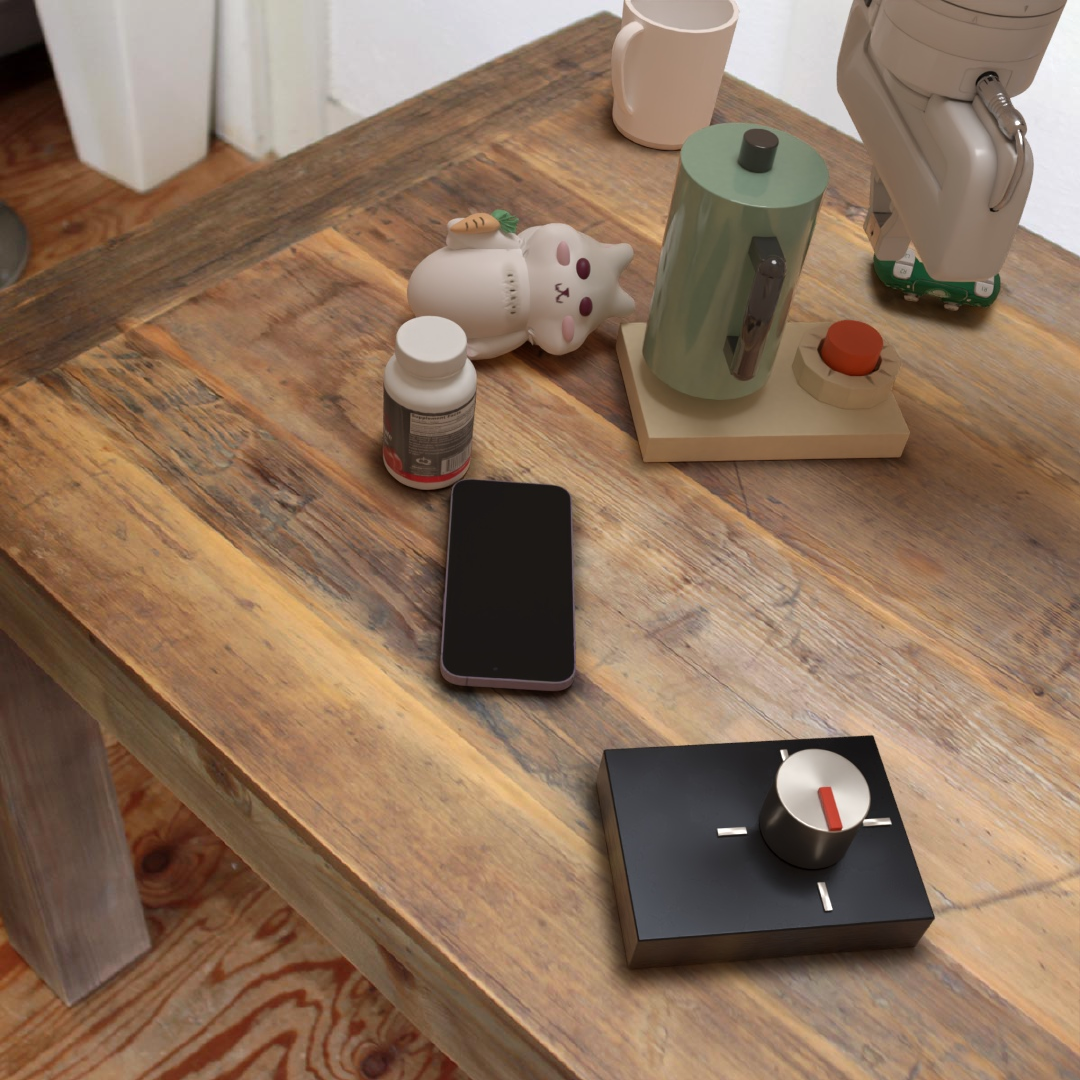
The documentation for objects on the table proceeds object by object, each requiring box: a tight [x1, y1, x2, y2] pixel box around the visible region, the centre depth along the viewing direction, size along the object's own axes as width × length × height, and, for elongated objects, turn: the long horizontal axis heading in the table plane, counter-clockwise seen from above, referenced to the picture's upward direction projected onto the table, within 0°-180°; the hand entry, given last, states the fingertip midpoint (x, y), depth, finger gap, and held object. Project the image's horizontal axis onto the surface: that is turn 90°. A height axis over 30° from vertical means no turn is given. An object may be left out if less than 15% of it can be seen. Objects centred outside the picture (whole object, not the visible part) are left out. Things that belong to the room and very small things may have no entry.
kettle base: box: [615, 321, 911, 463], centre depth 87 cm, size 17×11×4 cm, turn 97°
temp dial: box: [759, 749, 871, 869], centre depth 62 cm, size 4×4×4 cm
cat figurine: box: [406, 208, 637, 361], centre depth 88 cm, size 10×8×15 cm
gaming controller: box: [872, 248, 1002, 311], centre depth 97 cm, size 9×4×6 cm
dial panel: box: [595, 734, 936, 970], centre depth 64 cm, size 14×10×3 cm
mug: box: [610, 0, 741, 151], centre depth 106 cm, size 11×9×10 cm
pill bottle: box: [382, 316, 478, 491], centre depth 78 cm, size 5×5×10 cm
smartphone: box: [439, 478, 577, 692], centre depth 75 cm, size 7×1×15 cm
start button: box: [821, 319, 883, 376], centre depth 86 cm, size 4×4×2 cm
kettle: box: [642, 122, 830, 400], centre depth 79 cm, size 8×14×16 cm, turn 7°
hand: (881, 246), depth 80 cm, fingers closed
